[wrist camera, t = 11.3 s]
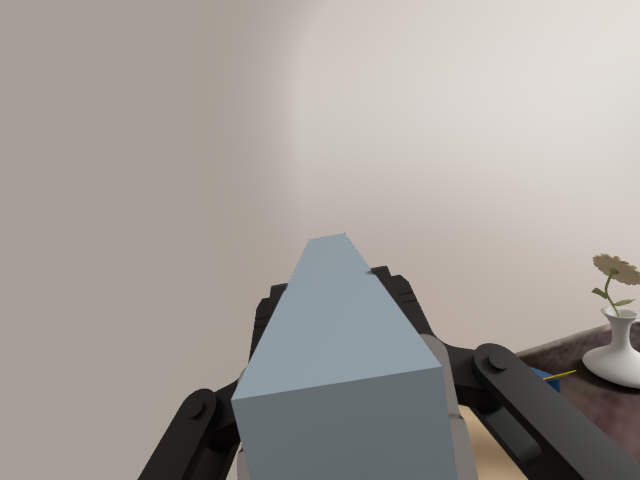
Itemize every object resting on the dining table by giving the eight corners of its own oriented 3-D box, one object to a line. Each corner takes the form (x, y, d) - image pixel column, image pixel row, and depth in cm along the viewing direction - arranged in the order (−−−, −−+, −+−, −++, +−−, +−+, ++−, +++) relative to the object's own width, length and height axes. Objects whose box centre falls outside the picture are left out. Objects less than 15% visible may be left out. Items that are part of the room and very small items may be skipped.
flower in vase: (688, 399, 46) (687, 262, 43) (602, 392, 50) (595, 268, 47) (634, 355, 58) (630, 246, 55) (568, 352, 62) (561, 252, 59)
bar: (467, 547, 5) (441, 366, 5) (274, 572, 5) (230, 400, 5) (351, 268, 29) (344, 232, 29) (315, 274, 29) (309, 239, 29)
